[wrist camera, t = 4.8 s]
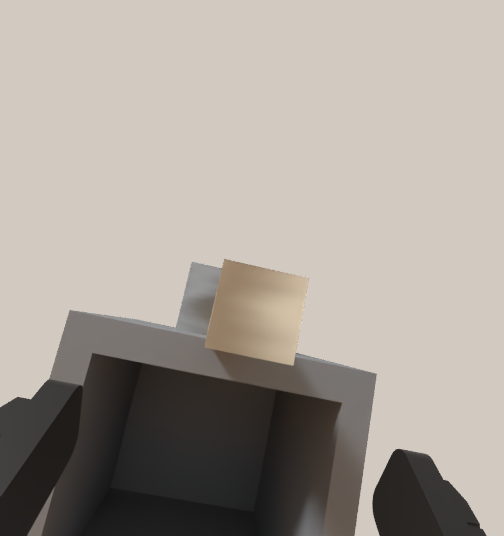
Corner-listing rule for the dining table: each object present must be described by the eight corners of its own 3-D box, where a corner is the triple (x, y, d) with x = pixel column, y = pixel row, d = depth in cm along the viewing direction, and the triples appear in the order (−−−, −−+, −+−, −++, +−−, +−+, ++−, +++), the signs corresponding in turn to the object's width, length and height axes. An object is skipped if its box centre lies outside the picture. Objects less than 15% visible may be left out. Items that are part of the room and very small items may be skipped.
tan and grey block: (108, 327, 10) (161, 132, 11) (180, 329, 38) (194, 272, 39) (382, 384, 11) (407, 194, 12) (257, 345, 38) (268, 288, 39)
